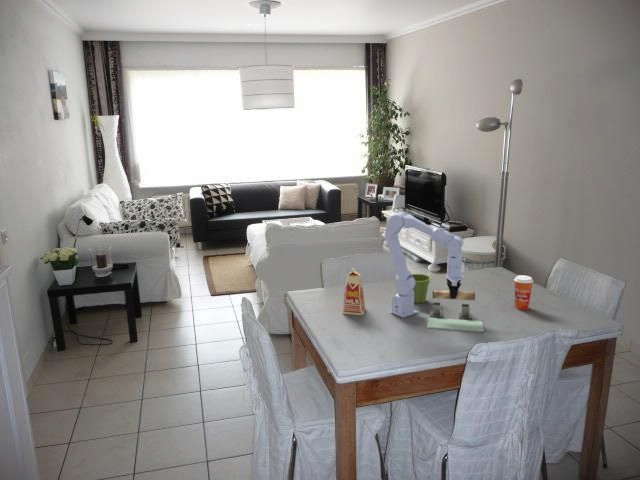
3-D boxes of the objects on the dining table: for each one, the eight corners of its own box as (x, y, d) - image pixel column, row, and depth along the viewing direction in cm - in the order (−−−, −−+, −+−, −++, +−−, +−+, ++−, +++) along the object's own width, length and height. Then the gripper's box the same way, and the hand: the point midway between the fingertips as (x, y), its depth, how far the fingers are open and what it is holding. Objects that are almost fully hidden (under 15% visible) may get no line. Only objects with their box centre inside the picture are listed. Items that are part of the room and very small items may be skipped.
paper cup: (511, 309, 233) (513, 278, 229) (513, 303, 239) (515, 274, 236) (530, 312, 229) (532, 281, 226) (532, 306, 236) (534, 276, 232)
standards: (430, 316, 227) (430, 305, 226) (430, 312, 231) (430, 301, 230) (471, 319, 223) (472, 308, 222) (470, 314, 228) (471, 304, 226)
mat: (427, 328, 215) (427, 326, 214) (427, 319, 224) (428, 317, 224) (483, 332, 210) (483, 330, 210) (482, 322, 219) (482, 321, 219)
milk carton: (362, 315, 230) (362, 271, 225) (341, 314, 232) (341, 270, 227) (365, 307, 238) (365, 265, 234) (345, 306, 240) (344, 264, 236)
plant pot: (428, 296, 251) (429, 273, 248) (431, 305, 240) (432, 281, 237) (403, 295, 252) (404, 273, 250) (405, 304, 241) (405, 281, 238)
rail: (432, 298, 222) (432, 291, 221) (432, 296, 225) (432, 289, 224) (474, 300, 218) (474, 293, 218) (474, 297, 221) (474, 291, 220)
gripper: (465, 271, 210) (463, 303, 214) (463, 261, 224) (462, 291, 227) (446, 270, 212) (445, 302, 215) (446, 260, 226) (445, 290, 229)
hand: (453, 297), depth 221 cm, fingers closed on rail, 3 cm apart
